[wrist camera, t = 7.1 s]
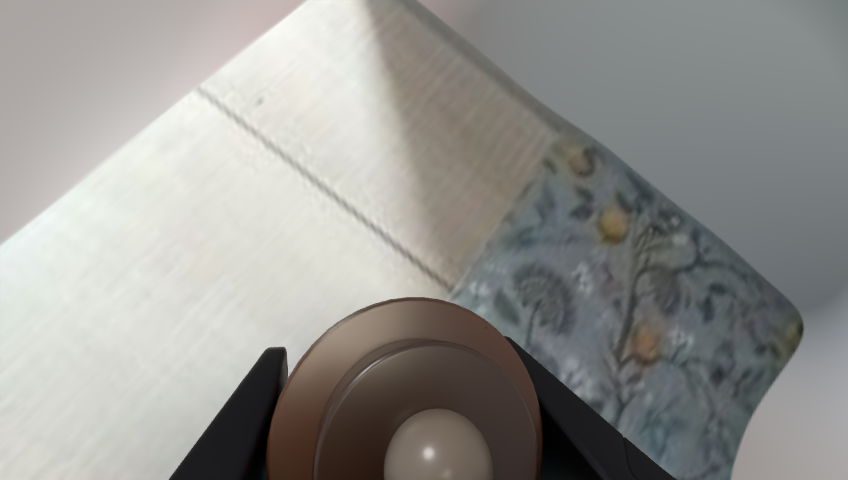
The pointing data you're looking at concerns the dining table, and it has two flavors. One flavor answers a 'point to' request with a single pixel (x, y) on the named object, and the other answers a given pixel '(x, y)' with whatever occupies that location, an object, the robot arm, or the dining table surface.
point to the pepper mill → (407, 401)
